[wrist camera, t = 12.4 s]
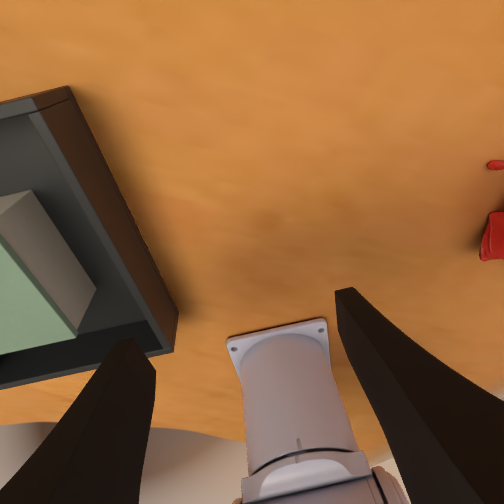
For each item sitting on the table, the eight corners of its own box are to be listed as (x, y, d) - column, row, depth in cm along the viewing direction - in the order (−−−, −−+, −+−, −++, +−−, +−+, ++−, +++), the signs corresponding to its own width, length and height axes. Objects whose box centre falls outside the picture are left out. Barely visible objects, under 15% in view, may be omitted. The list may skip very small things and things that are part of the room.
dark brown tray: (179, 312, 23) (173, 352, 20) (9, 350, 23) (-20, 394, 20) (68, 84, 14) (31, 96, 11) (-198, 151, 14) (-300, 178, 12)
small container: (99, 289, 20) (76, 338, 17) (22, 306, 20) (-15, 358, 17) (32, 187, 16) (-16, 225, 13) (-63, 209, 16) (-135, 252, 13)
